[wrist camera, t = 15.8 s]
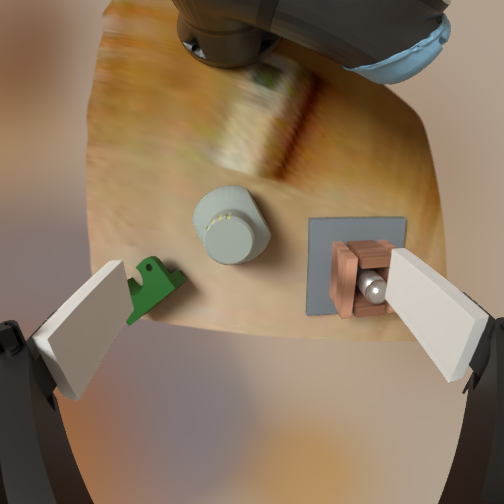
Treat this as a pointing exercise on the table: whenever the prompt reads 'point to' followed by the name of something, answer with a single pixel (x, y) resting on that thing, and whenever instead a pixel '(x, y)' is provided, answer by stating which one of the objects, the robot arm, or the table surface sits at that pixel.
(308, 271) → the post board
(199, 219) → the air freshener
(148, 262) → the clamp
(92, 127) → the table surface
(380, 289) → the steel post
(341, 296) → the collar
